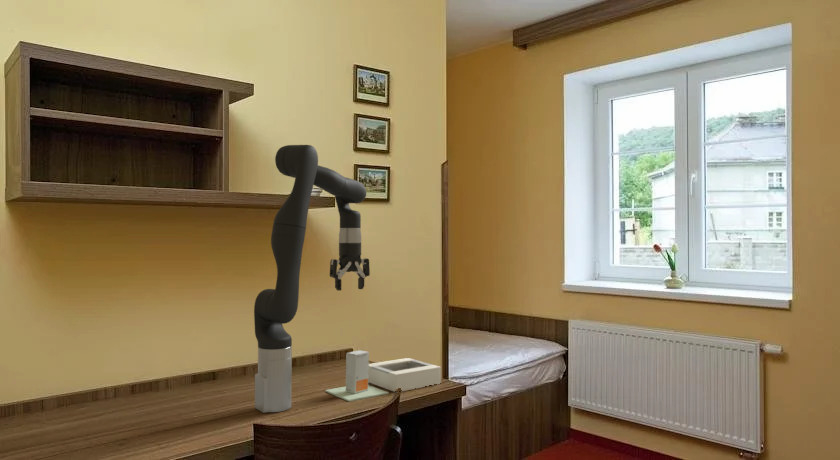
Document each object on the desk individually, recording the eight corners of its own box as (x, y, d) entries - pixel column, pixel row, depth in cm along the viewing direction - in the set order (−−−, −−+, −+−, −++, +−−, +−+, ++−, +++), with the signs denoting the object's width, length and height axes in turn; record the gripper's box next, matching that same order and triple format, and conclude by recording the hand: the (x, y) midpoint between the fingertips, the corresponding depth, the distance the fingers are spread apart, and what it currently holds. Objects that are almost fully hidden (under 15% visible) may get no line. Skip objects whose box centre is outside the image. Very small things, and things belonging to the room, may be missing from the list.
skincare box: (354, 394, 180) (355, 354, 180) (345, 391, 183) (345, 352, 183) (369, 390, 185) (369, 351, 185) (359, 388, 188) (359, 349, 188)
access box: (396, 392, 185) (396, 374, 185) (364, 380, 199) (364, 364, 199) (440, 383, 196) (440, 366, 196) (408, 373, 210) (408, 357, 210)
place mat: (348, 401, 174) (348, 399, 174) (325, 391, 185) (325, 389, 185) (388, 393, 183) (388, 392, 183) (363, 384, 194) (363, 383, 194)
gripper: (337, 241, 194) (337, 291, 194) (373, 241, 203) (373, 289, 203) (325, 241, 200) (325, 290, 200) (362, 241, 209) (361, 287, 208)
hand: (349, 289), depth 201 cm, fingers open, 8 cm apart
